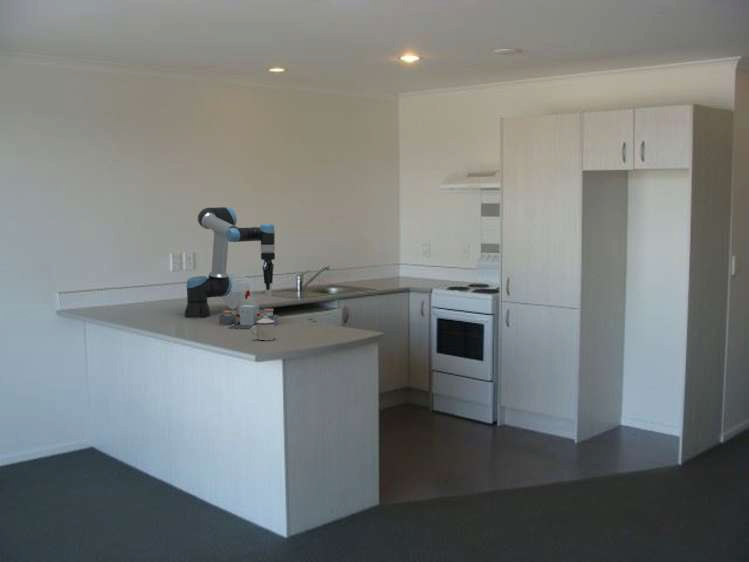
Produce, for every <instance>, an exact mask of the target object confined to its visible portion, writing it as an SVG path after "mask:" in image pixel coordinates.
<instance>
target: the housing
mask: <svg viewBox="0 0 749 562" xmlns="http://www.w3.org/2000/svg"><path fill="white" fill-rule="evenodd" d="M264 316H266V314H264V315H262V316H260V320H261V319H262V318H264ZM278 317H279V315H278V314H273V317H268V318H269V319H271V320H274V321H275V323H274V325H275V326H276V324H277V325H278V324H279V321H278V320H279V319H278ZM218 324H223V325H222V326H233V325H232V324H234V325H240V320H238V321H237V317H236V313H234V314H233V313H231V316H224V313H222V314H220V315H218ZM254 325H255V326H257V322H256V323H254Z"/></svg>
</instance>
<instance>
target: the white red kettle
mask: <svg viewBox="0 0 749 562" xmlns="http://www.w3.org/2000/svg"><path fill="white" fill-rule="evenodd" d="M250 295H251V293H250V290H249V291H247V290H246V295H245V297H244V298H243V299H241V301H240V302H239V304H238V305H237V307H236V308H235V309H236V311H235V314H236V316H237V317H236V318H240V306H242V305H256V306H257V316H258V317H261V313H260V304H259V303H257V301H256V300H255V298H253V297H252V296H250Z"/></svg>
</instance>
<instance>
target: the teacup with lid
mask: <svg viewBox="0 0 749 562" xmlns="http://www.w3.org/2000/svg"><path fill="white" fill-rule="evenodd" d="M263 316H264V315H263ZM274 323H275V321H274V320H271V319H269V318H268V317H267V316H264V318H262V319H261V318H260V319H259V320H257V326H253V327H252V328H251V329H250V331H251V332H250V333H251V335H253V336H255V337H256V340H257V339H259V340H270V339H274V338H275V337H276V335H275V332H276V331H275V330H276V329H275V326H276V325H274ZM255 328H256V333H254V331H253V330H254V329H255ZM275 339H276V338H275ZM275 339H274V340H275ZM259 340H258V341H259Z"/></svg>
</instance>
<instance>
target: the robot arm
mask: <svg viewBox="0 0 749 562" xmlns="http://www.w3.org/2000/svg"><path fill="white" fill-rule="evenodd" d="M197 222H198V224H199V226H200V227H202V228H203V229H206V230H211V231H212V232H213V243H212V244H213V245H212V256H211V257H212V259H211V272H209V273H208V277H207V276H206V275H197V276H193V277H190V278H188V279H187V280H186V299H187V303H186V308H185V310H184V318H187V317H203V318H208V317H207V316H209V317H211V316H212V315H211V314H212V313H211V310H210V307H209V304H208V299H209V298H217V297H219V298H222V296H226V295H228V294H229V293H231V292H230V291H231V290H232V289H231V287H232V282H231V281H232V280H231V279H232V278H231V279H230V278H229V277H228V274H227V273H228V272H227V264H228V250H229V248H228V247H229V243H239V242H242V243H243V242H260V252H261V253H260V260H262V261H263V265H262V271H263V284H265V296H268V297H269V296H272V284H273V282H274V279H273V278H274V275H273V274H274V267H275V266H274V265H275V264H273V260H275V258H276V253H275V251H276V245H275V243H276V241H275V235H276V234H275V231H276V230H275V225H274V224H272V223H261V224H260V226H252V227H239V226H238V227H237V226H236V225H237V214H236V212H235V210H234V209H233V208H231V207H225V206H224V207H222V206H221V207H219V206H218V207H206V208H203V209H202V210H201V211H199V213H198V215H197ZM228 296H229V295H228ZM210 315H211V316H210Z"/></svg>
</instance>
